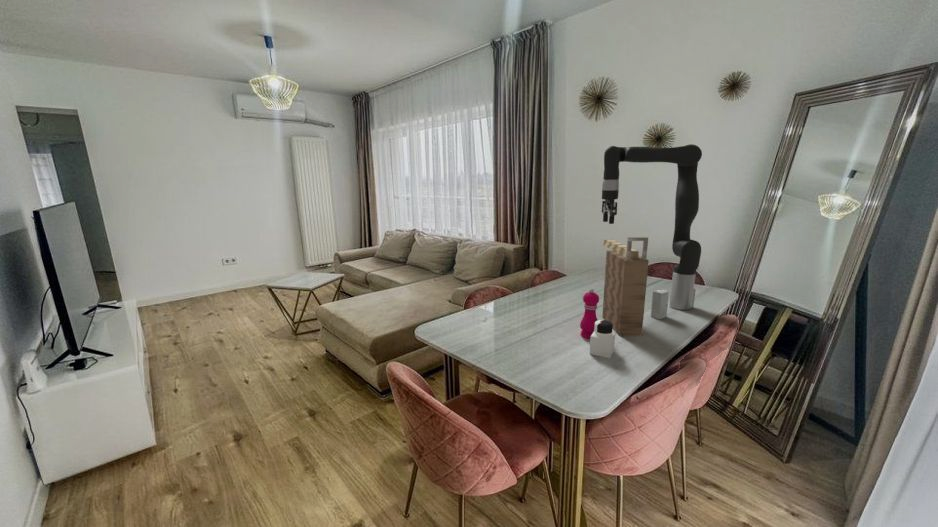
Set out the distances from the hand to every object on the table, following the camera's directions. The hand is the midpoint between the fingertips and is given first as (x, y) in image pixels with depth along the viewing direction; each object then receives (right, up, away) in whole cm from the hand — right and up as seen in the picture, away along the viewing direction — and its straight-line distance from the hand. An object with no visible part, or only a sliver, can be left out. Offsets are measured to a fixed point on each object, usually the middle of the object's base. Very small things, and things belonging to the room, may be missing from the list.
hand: (608, 222), depth 178 cm
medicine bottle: (-21, -53, -47) cm, 74 cm away
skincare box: (+17, -45, -15) cm, 50 cm away
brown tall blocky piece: (-4, -47, -24) cm, 53 cm away
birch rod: (-5, -15, -24) cm, 29 cm away
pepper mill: (-21, -50, -33) cm, 63 cm away
